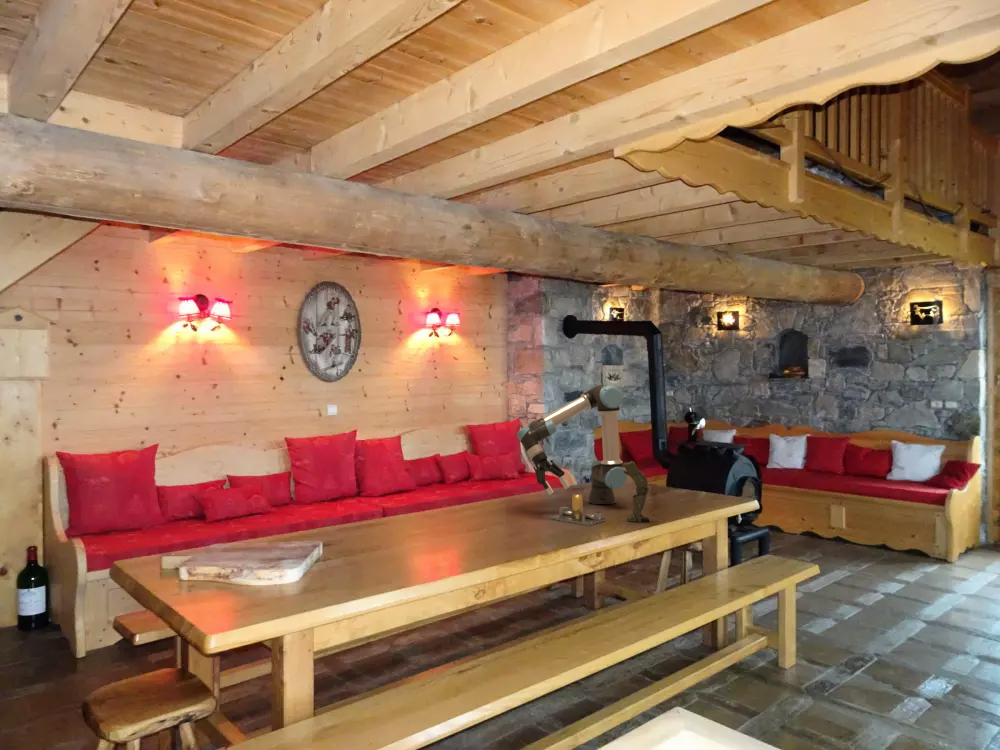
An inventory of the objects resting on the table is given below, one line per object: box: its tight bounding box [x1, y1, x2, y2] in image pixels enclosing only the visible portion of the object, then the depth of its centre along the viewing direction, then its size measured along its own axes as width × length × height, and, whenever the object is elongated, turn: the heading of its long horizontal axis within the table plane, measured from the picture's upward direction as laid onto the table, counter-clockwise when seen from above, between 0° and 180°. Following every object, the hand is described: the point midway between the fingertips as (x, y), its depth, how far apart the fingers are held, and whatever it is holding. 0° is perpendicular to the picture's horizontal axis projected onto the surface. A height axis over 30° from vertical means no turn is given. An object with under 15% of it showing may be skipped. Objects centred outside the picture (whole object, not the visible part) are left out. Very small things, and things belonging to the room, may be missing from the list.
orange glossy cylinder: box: [571, 493, 584, 519], centre depth 344 cm, size 5×5×11 cm
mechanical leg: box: [623, 460, 651, 523], centre depth 343 cm, size 14×7×30 cm, turn 84°
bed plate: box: [549, 506, 607, 527], centre depth 344 cm, size 23×14×5 cm, turn 50°
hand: (559, 490), depth 353 cm, fingers open, 13 cm apart
